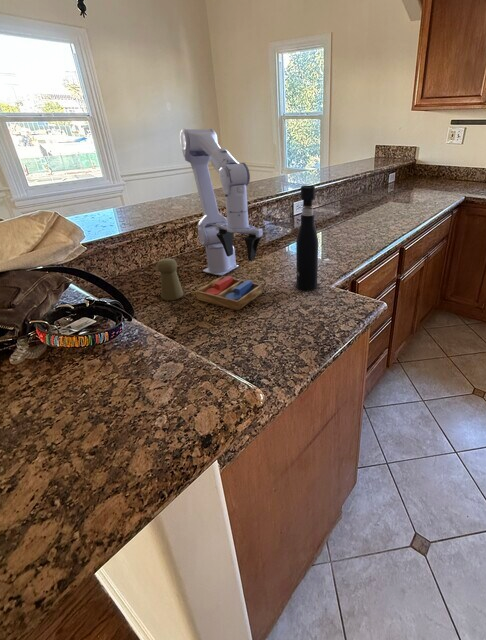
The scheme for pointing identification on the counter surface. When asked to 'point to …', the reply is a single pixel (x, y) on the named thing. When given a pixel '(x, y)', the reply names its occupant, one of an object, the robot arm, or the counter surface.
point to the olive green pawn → (169, 280)
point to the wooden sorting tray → (221, 298)
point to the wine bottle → (307, 244)
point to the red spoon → (221, 285)
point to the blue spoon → (240, 290)
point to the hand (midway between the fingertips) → (240, 257)
